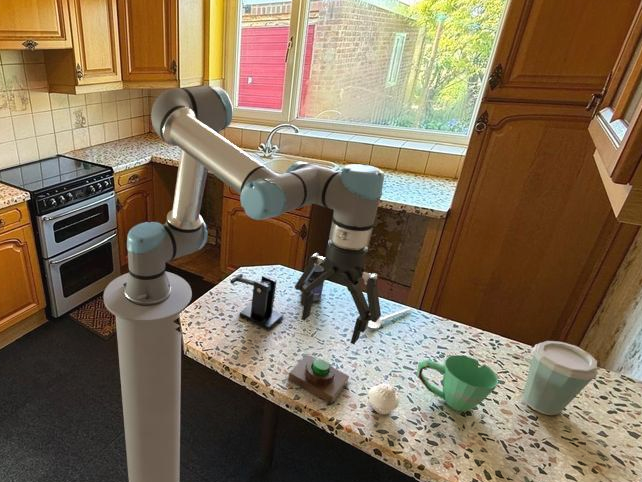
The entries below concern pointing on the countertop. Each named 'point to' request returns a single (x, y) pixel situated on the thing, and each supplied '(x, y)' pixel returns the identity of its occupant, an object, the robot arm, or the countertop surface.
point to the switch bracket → (262, 305)
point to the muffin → (383, 398)
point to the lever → (248, 281)
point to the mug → (461, 381)
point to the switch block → (318, 379)
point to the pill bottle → (318, 289)
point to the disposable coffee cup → (557, 376)
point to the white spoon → (378, 322)
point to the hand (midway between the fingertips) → (329, 328)
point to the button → (320, 367)
